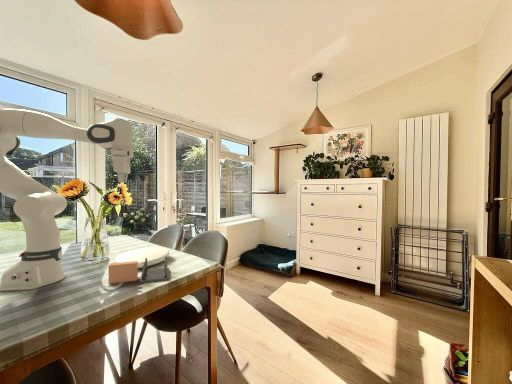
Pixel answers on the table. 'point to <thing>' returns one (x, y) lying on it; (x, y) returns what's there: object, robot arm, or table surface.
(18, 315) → the table surface
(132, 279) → the tile
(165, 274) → the rack
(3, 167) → the robot arm
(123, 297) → the table surface
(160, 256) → the plate
